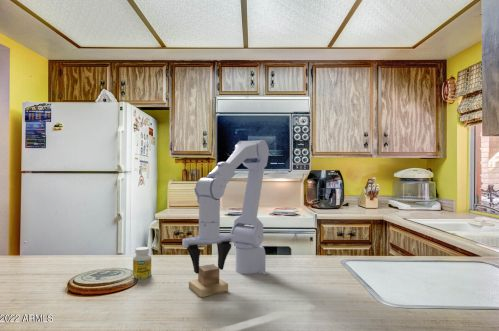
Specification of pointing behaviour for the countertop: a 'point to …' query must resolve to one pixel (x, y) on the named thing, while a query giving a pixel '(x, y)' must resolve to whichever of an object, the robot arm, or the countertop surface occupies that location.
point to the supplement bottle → (142, 263)
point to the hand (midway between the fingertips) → (208, 270)
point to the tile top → (207, 288)
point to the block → (208, 275)
